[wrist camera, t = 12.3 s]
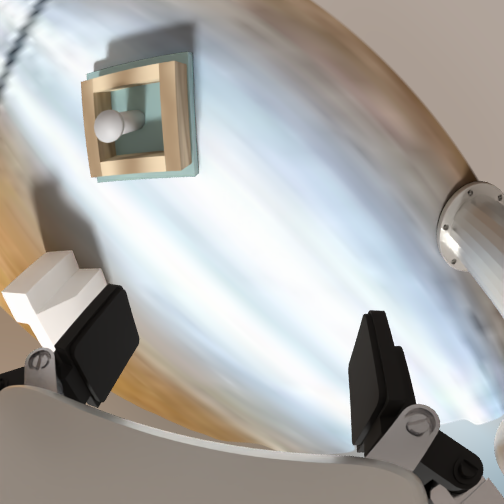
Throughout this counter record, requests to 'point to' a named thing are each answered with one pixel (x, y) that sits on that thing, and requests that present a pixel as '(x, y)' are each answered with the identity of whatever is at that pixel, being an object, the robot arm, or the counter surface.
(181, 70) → the ring
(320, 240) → the counter surface
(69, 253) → the corner bracket
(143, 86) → the lid with knob
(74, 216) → the counter surface
